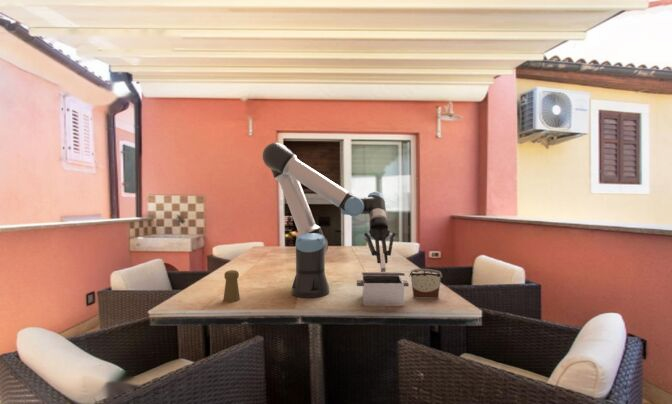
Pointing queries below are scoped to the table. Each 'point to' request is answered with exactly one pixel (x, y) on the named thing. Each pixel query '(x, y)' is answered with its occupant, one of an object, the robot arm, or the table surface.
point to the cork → (231, 286)
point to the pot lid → (384, 273)
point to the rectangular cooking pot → (382, 290)
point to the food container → (425, 283)
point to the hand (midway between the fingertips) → (383, 269)
